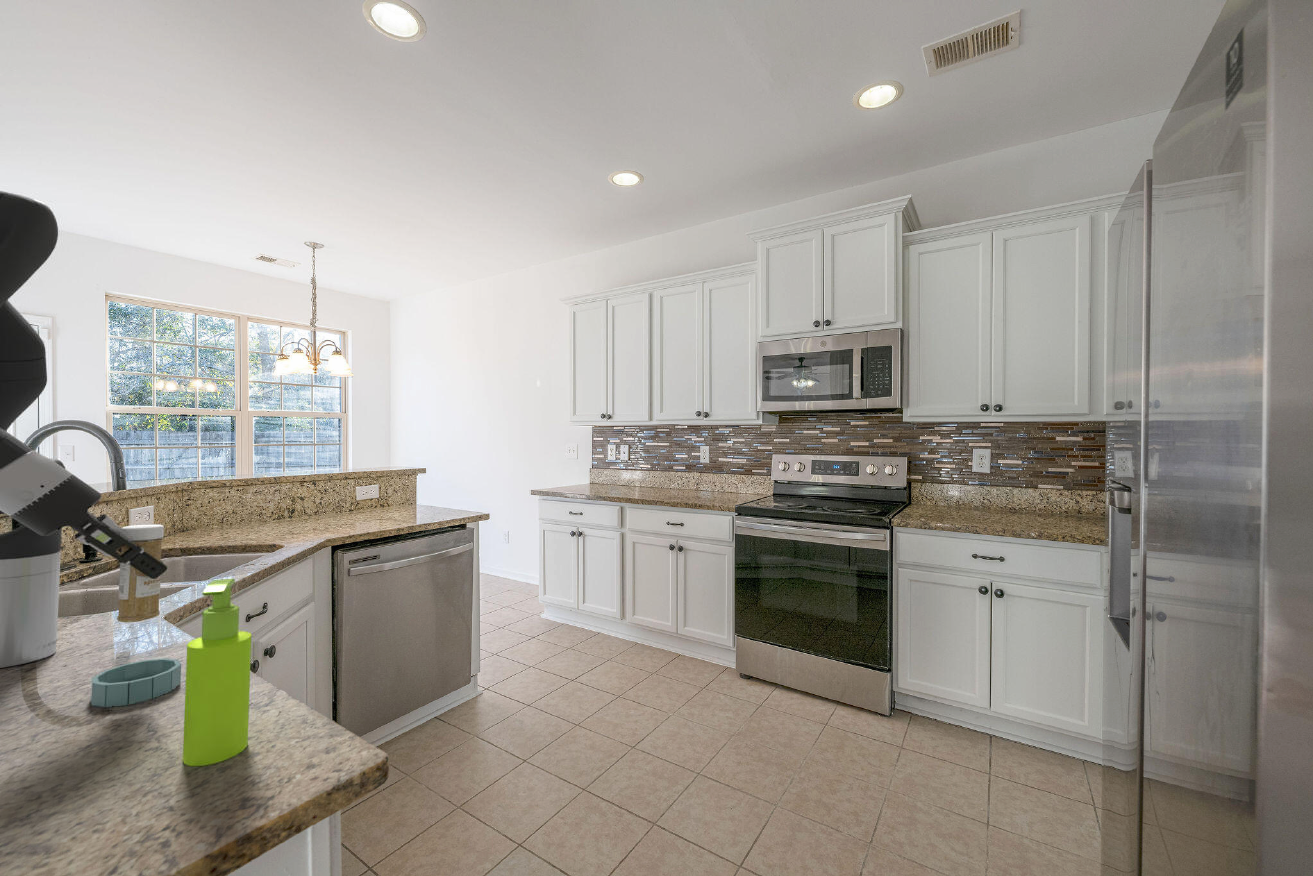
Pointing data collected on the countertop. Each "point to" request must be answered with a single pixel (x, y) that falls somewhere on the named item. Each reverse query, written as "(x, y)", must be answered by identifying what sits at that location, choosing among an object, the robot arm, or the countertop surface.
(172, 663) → the teal bowl
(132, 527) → the sprinkles bottle
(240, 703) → the soap dispenser
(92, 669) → the countertop surface
